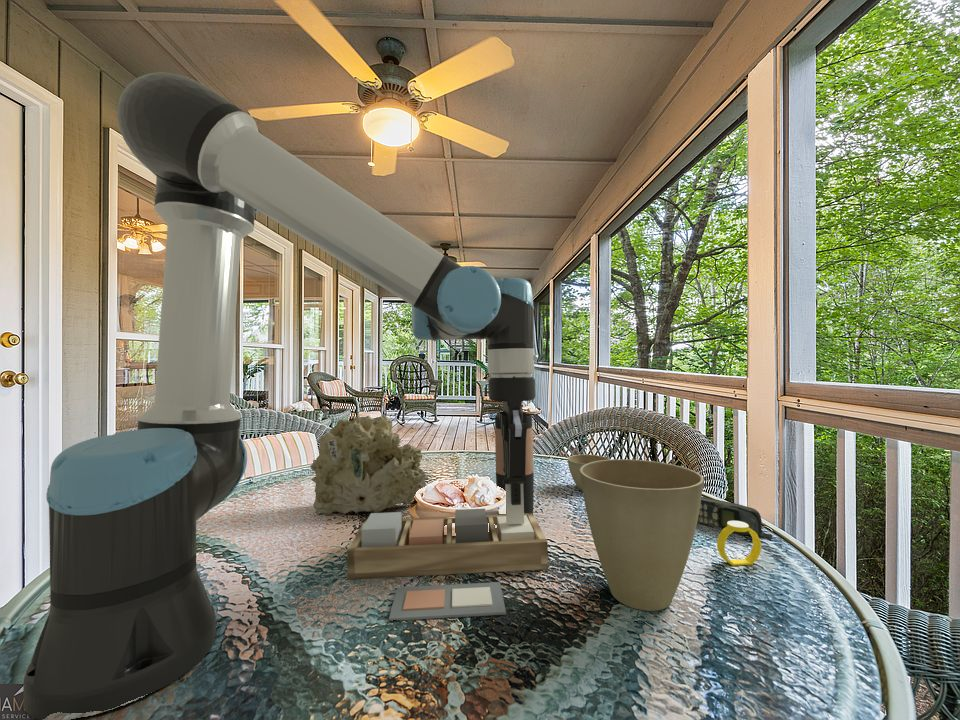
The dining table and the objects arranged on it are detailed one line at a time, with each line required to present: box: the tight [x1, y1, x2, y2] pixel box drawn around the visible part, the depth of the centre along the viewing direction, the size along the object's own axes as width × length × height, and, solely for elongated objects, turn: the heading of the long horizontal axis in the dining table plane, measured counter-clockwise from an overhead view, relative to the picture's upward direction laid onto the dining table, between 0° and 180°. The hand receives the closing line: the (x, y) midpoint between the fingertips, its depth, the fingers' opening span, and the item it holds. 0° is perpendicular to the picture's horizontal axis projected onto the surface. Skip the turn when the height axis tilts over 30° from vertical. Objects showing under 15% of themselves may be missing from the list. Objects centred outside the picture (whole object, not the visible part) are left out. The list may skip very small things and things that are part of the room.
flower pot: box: [566, 454, 611, 491], centre depth 100 cm, size 10×10×7 cm
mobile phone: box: [697, 496, 773, 540], centre depth 75 cm, size 5×3×15 cm
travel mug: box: [494, 413, 535, 514], centre depth 84 cm, size 8×8×20 cm
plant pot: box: [580, 458, 705, 612], centre depth 54 cm, size 15×15×16 cm
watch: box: [716, 521, 762, 567], centre depth 62 cm, size 6×3×6 cm, turn 94°
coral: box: [309, 414, 429, 515], centre depth 89 cm, size 25×10×20 cm, turn 87°
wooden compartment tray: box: [346, 512, 549, 580], centre depth 67 cm, size 12×29×4 cm, turn 93°
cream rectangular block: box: [497, 515, 534, 541], centre depth 67 cm, size 7×5×3 cm
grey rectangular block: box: [454, 508, 489, 543], centre depth 67 cm, size 7×5×3 cm
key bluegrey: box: [361, 511, 402, 547], centre depth 66 cm, size 7×5×3 cm
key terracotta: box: [409, 519, 444, 545], centre depth 66 cm, size 7×5×3 cm
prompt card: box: [388, 581, 507, 622], centre depth 54 cm, size 7×14×1 cm, turn 93°
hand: (515, 522), depth 67 cm, fingers closed
